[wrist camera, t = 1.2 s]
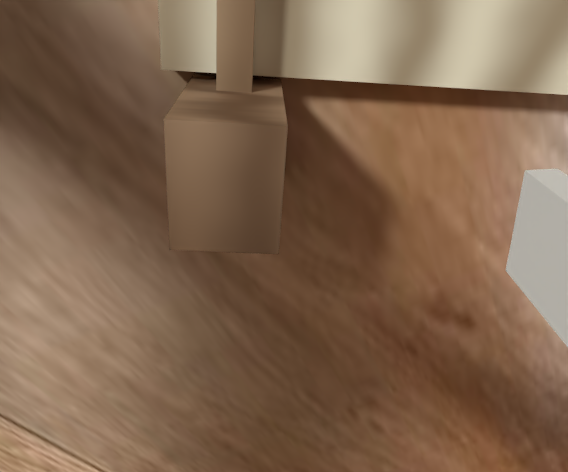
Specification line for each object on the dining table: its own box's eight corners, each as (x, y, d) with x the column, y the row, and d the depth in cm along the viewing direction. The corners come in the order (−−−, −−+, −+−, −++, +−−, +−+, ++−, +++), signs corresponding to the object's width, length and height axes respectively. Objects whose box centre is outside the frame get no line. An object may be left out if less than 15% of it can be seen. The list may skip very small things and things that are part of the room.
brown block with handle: (195, 172, 32) (169, 249, 23) (192, -68, 26) (154, -87, 17) (274, 176, 32) (278, 254, 23) (289, -60, 26) (302, -76, 17)
